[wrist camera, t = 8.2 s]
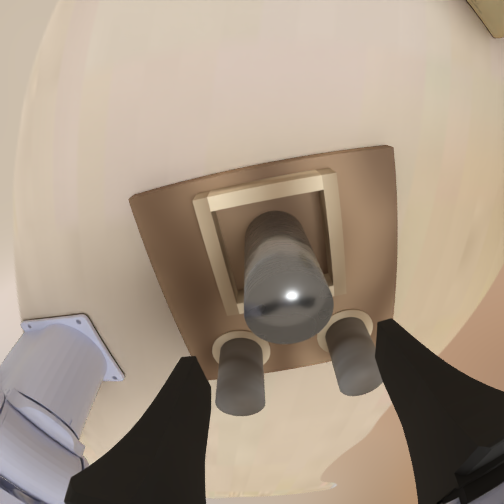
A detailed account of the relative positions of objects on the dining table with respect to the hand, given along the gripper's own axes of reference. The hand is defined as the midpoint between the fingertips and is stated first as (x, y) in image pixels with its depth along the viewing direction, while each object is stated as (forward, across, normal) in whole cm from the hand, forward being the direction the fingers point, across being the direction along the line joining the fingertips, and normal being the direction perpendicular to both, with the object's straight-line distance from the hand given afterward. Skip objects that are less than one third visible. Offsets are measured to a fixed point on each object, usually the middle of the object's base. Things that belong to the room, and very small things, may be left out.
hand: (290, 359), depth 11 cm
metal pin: (+8, 0, -1) cm, 9 cm away
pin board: (+9, 0, +2) cm, 10 cm away
